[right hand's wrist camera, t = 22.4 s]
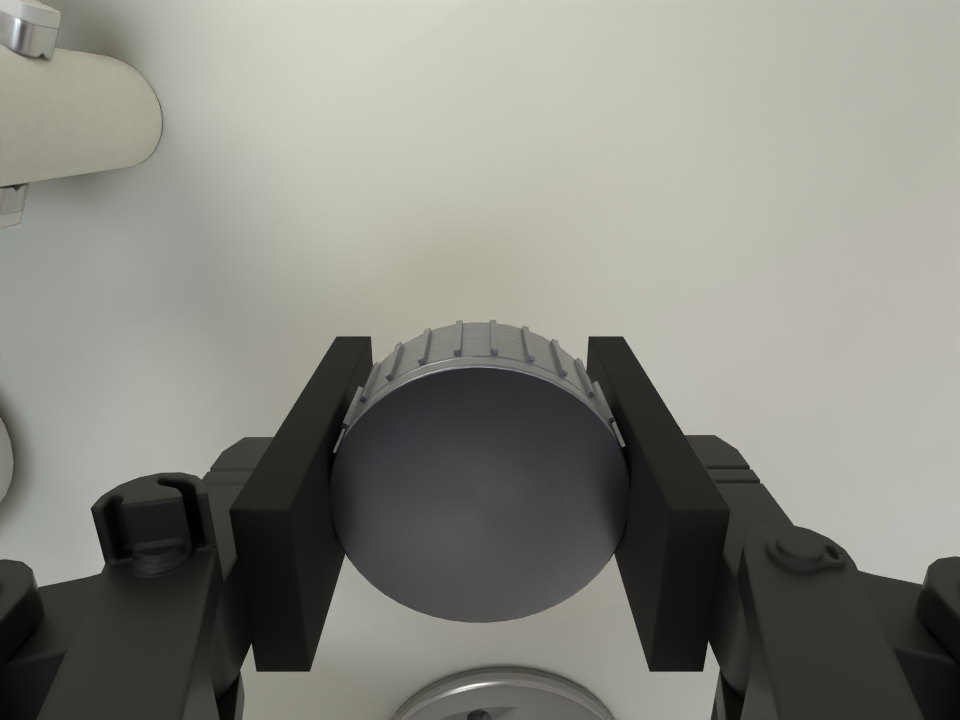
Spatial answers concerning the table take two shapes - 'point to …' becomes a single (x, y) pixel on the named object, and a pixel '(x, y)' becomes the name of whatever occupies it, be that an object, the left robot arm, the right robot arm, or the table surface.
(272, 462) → the right robot arm
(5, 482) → the flag stand
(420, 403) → the lid
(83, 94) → the jar
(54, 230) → the table surface
